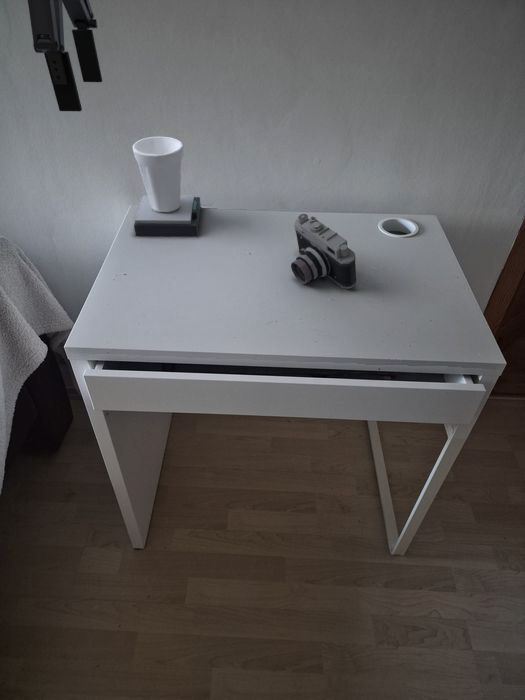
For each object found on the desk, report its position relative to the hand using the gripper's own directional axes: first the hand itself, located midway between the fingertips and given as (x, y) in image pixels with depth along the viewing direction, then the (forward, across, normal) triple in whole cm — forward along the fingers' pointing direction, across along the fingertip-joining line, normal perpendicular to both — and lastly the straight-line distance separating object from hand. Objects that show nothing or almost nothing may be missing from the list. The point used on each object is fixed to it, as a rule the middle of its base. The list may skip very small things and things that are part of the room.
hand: (82, 95), depth 63 cm
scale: (+31, +20, -7) cm, 37 cm away
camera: (+31, -1, -36) cm, 48 cm away
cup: (+28, +20, -6) cm, 35 cm away
